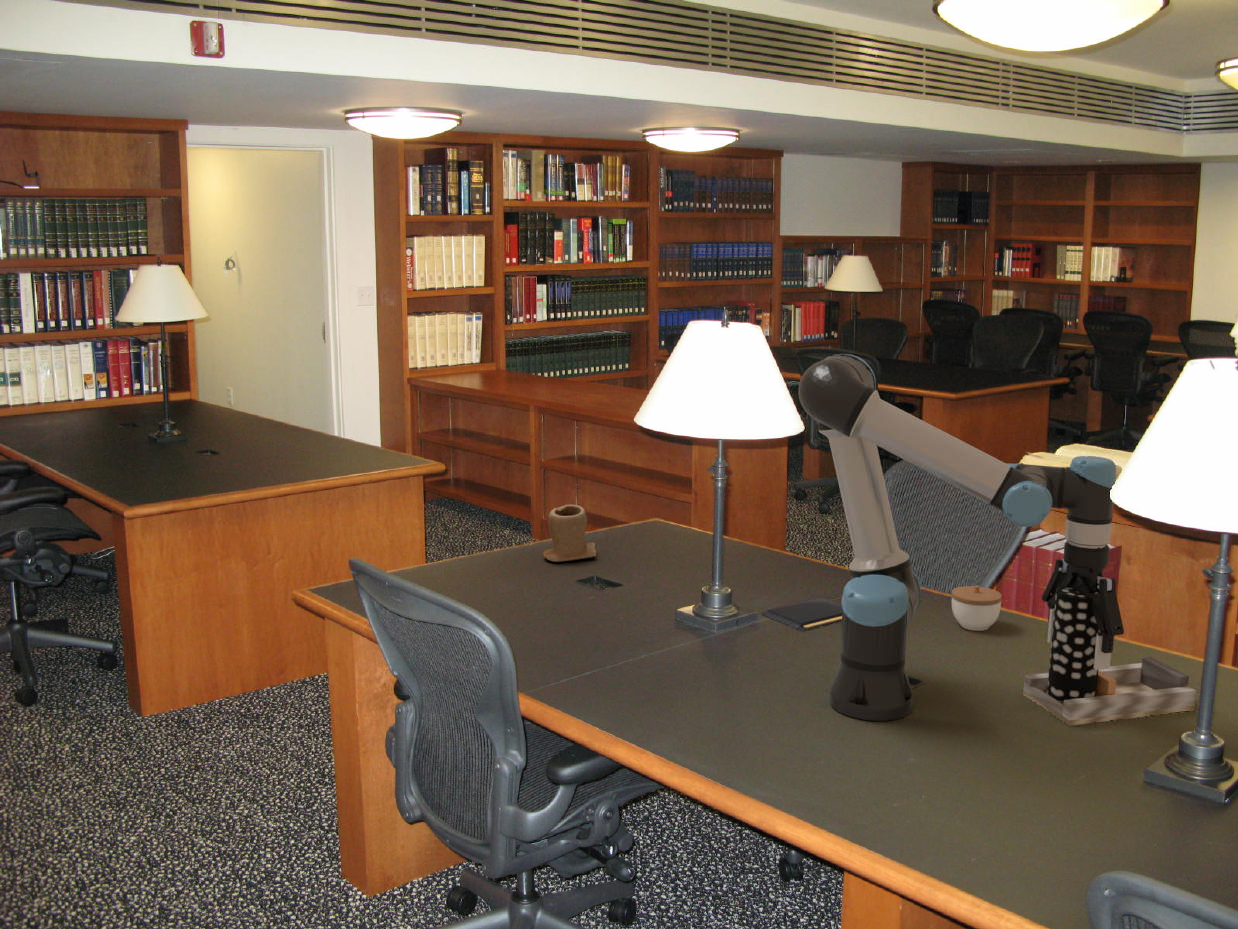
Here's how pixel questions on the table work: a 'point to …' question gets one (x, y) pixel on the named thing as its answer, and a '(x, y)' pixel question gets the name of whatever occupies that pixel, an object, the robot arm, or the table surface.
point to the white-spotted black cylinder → (1072, 647)
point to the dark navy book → (807, 614)
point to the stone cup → (568, 534)
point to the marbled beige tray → (1120, 694)
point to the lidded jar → (976, 606)
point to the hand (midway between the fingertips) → (1077, 655)
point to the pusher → (1105, 685)
